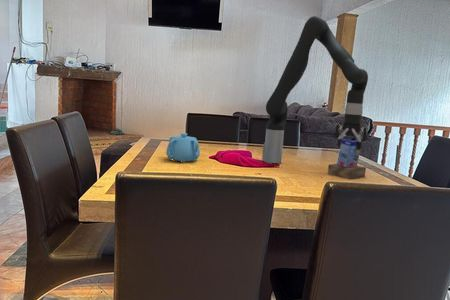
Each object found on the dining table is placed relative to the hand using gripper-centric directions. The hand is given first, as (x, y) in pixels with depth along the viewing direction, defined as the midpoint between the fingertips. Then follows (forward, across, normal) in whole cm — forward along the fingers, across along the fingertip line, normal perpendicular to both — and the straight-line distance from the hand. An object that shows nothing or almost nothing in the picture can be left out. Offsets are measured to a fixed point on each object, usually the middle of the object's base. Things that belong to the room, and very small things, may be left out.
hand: (349, 148), depth 178 cm
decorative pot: (+13, -70, -35) cm, 79 cm away
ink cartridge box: (+8, 0, 0) cm, 8 cm away
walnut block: (+13, 0, 0) cm, 13 cm away
